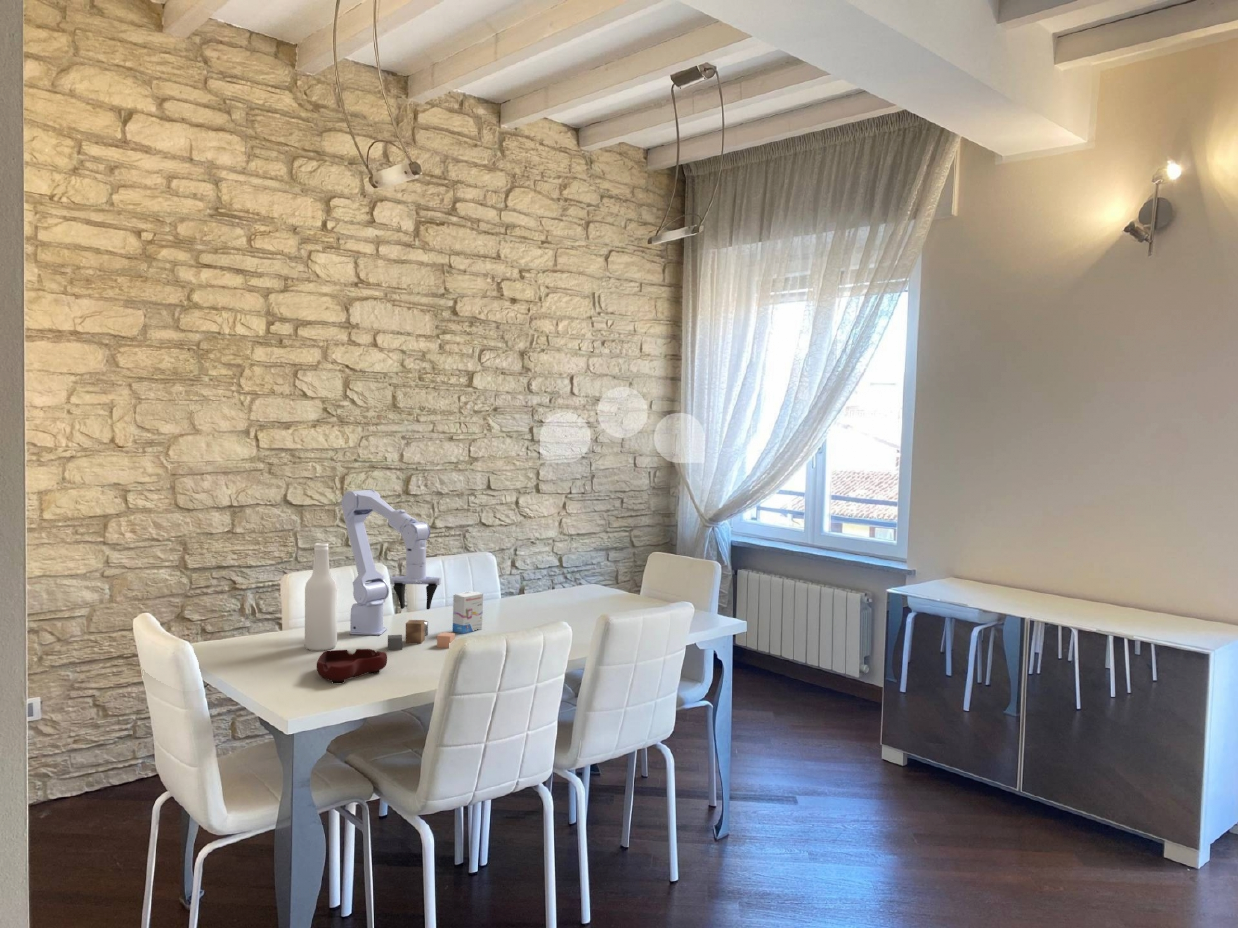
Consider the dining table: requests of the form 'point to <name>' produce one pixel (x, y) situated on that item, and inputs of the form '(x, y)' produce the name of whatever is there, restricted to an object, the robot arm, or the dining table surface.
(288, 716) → the dining table surface
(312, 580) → the white bottle
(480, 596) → the ink box
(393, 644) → the charcoal rubber block
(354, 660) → the ashtray
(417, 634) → the walnut block
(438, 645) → the terracotta block
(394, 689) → the dining table surface
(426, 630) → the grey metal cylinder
